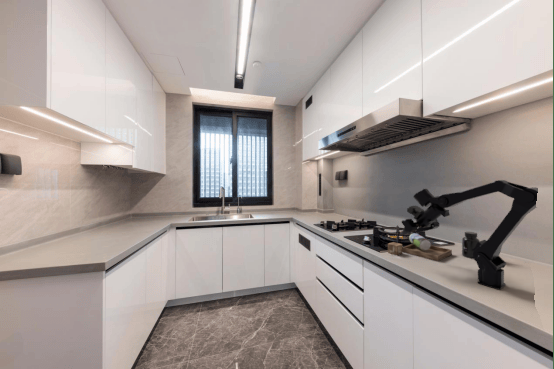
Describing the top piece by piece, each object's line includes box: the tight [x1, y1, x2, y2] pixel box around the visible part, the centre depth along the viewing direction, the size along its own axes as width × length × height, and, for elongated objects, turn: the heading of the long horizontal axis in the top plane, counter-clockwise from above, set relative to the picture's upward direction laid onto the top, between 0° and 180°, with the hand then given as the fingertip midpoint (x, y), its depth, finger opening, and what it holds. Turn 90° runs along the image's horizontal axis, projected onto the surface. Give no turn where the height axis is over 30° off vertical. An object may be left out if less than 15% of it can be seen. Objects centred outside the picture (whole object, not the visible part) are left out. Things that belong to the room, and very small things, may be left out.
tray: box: [402, 243, 453, 262], centre depth 124 cm, size 17×15×2 cm
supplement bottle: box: [461, 231, 480, 259], centre depth 118 cm, size 7×7×12 cm
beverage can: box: [408, 232, 432, 251], centre depth 128 cm, size 6×7×12 cm
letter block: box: [387, 241, 403, 256], centre depth 126 cm, size 5×5×5 cm
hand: (409, 233), depth 118 cm, fingers open, 9 cm apart
